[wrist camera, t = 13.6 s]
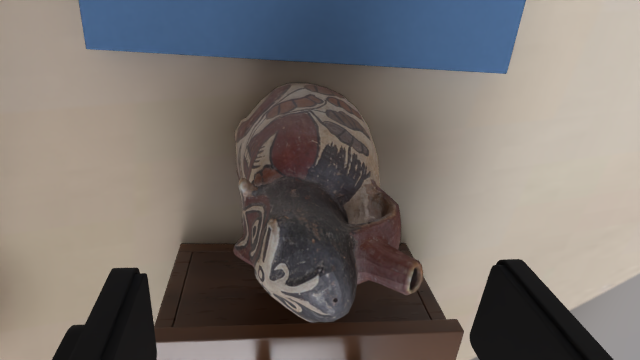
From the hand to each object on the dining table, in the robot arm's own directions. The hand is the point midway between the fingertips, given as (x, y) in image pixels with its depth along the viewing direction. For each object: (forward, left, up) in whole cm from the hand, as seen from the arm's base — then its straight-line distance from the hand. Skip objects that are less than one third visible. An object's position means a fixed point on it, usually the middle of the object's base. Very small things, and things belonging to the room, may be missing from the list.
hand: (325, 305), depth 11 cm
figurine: (0, 0, -13) cm, 13 cm away
